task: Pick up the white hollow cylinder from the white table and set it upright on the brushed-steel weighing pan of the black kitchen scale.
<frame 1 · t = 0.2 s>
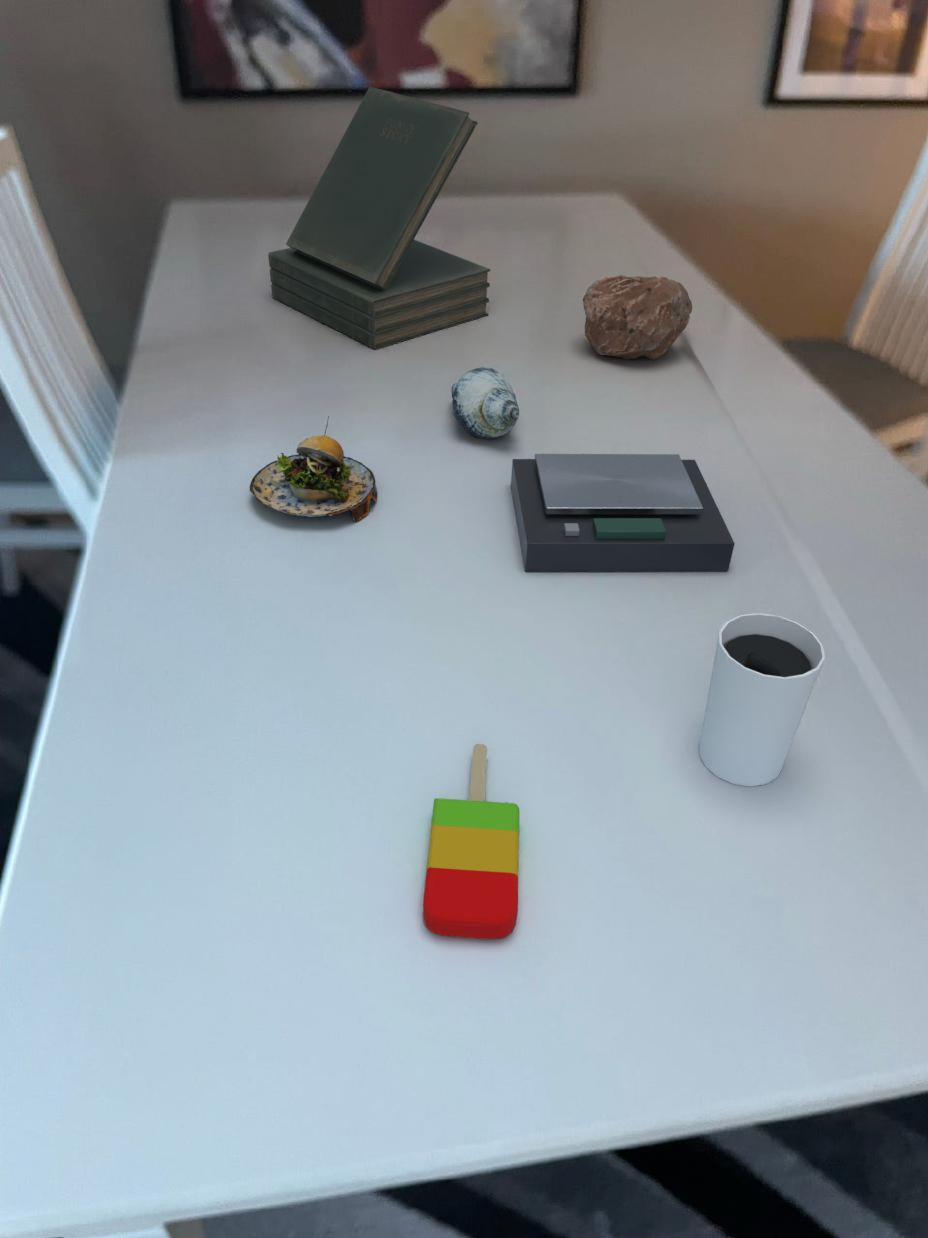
seashell: (482, 429, 109), on the table
white hollow cylinder: (739, 757, 70), on the table
scale pan: (615, 482, 92), point 4 cm above the table, slide at 0.0 cm
burger: (315, 499, 96), on the table
decorative rock: (630, 354, 126), on the table
popsicle: (474, 841, 63), on the table
stack of books: (379, 308, 136), on the table
scale: (613, 526, 93), on the table
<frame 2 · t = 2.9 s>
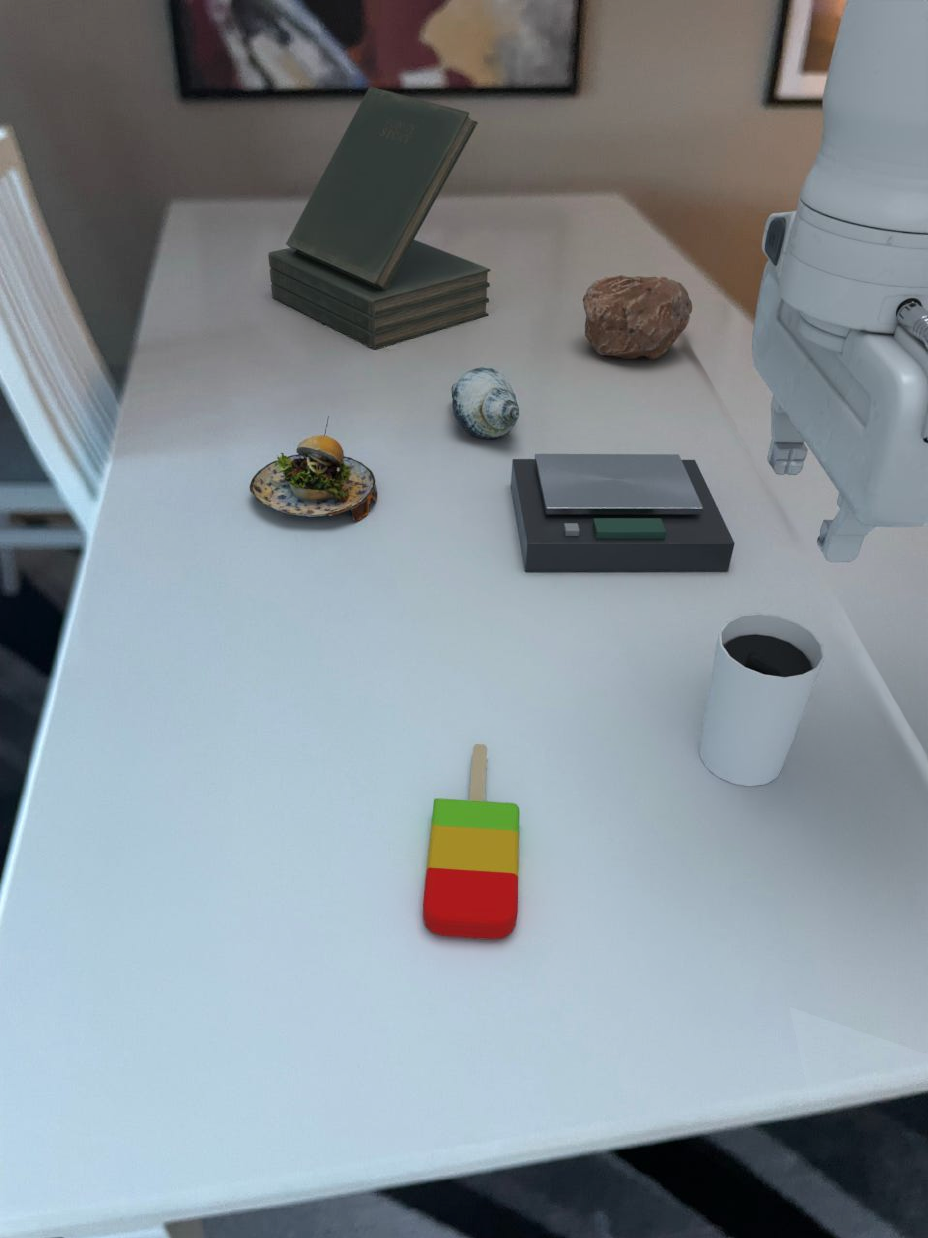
hand: (807, 509, 58), 20 cm above the table, tool pointing down, fingers open, 8 cm apart
nothing on the table moved.
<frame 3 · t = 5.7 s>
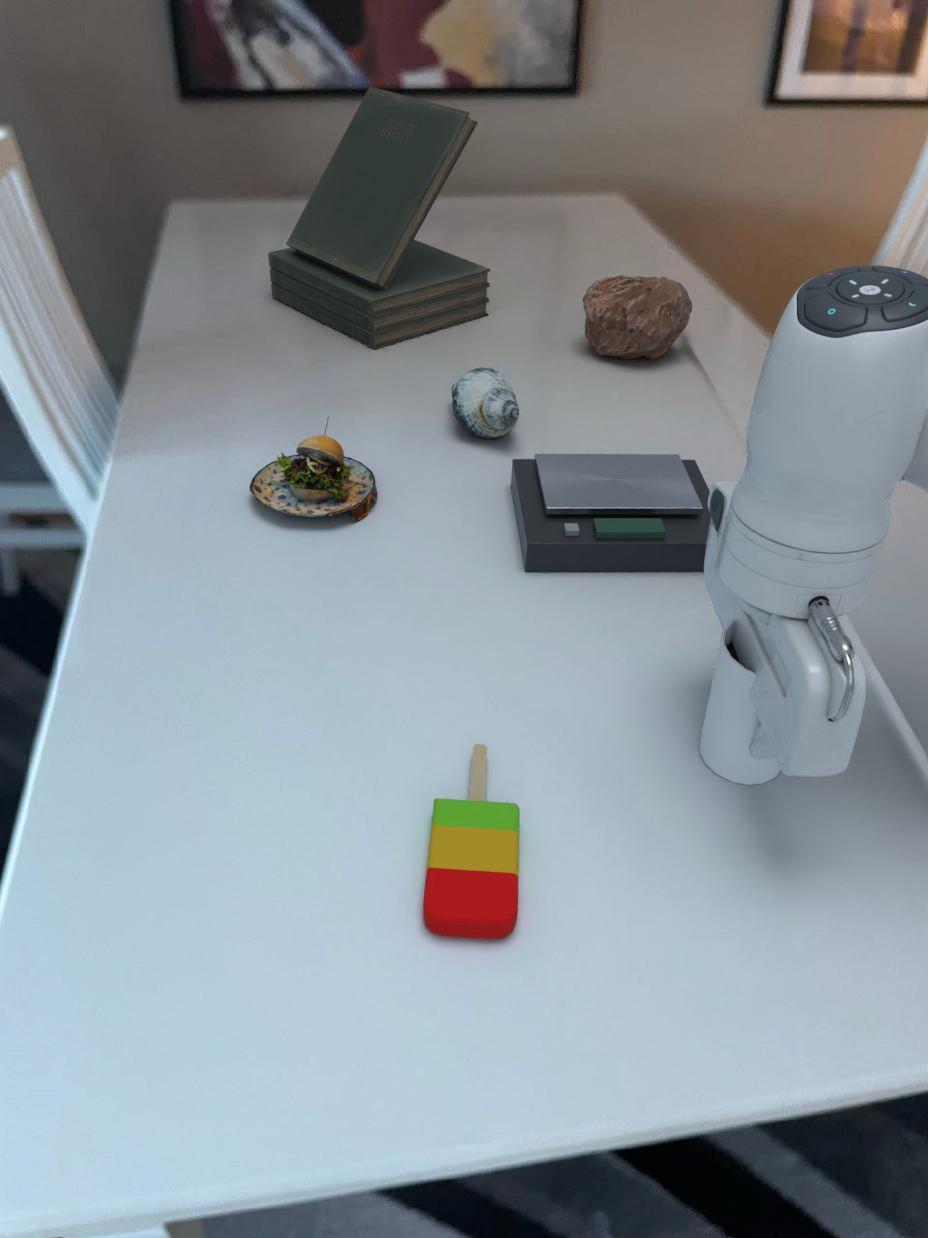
hand: (749, 723, 68), 3 cm above the table, tool pointing down, fingers closed on white hollow cylinder, 4 cm apart
white hollow cylinder: (740, 755, 70), on the table, touching gripper
everything else where it was.
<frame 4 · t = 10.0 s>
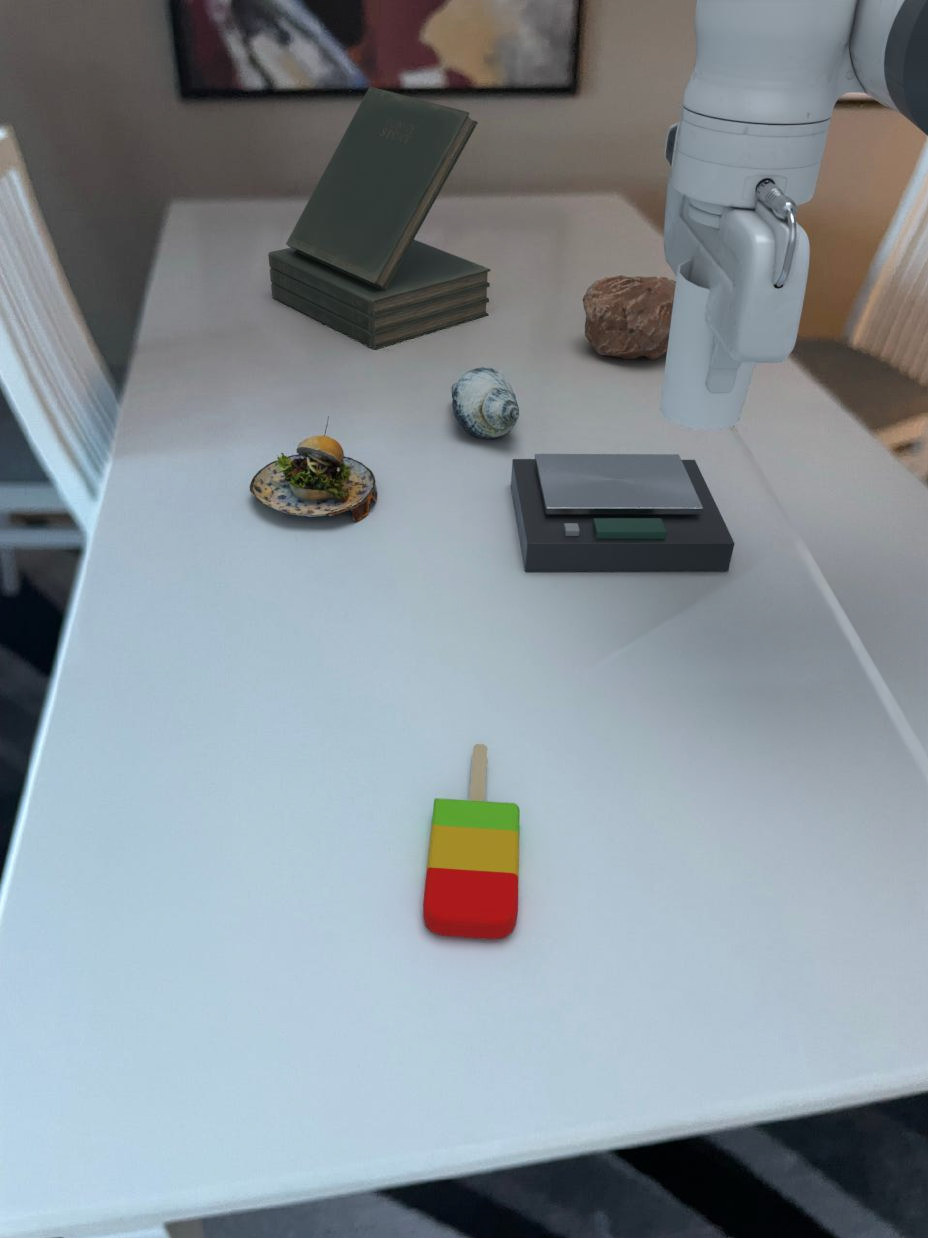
hand: (706, 372, 70), 21 cm above the table, tool pointing down, fingers closed on white hollow cylinder, 4 cm apart
white hollow cylinder: (699, 413, 72), point 18 cm above the table, touching gripper
everything else where it was.
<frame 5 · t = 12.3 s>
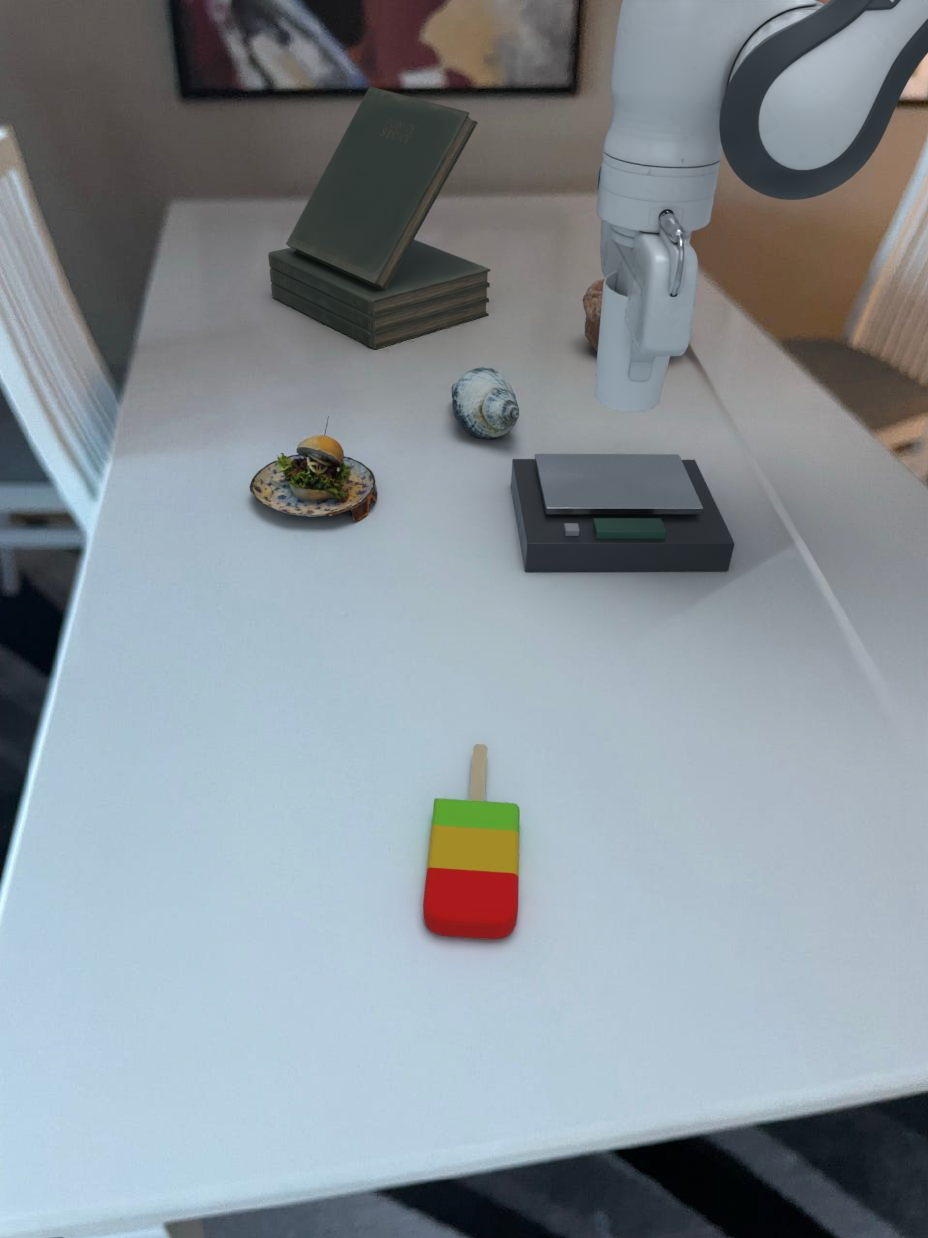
hand: (631, 364, 85), 15 cm above the table, tool pointing down, fingers closed on white hollow cylinder, 4 cm apart
white hollow cylinder: (626, 398, 87), point 12 cm above the table, touching gripper
everything else where it was.
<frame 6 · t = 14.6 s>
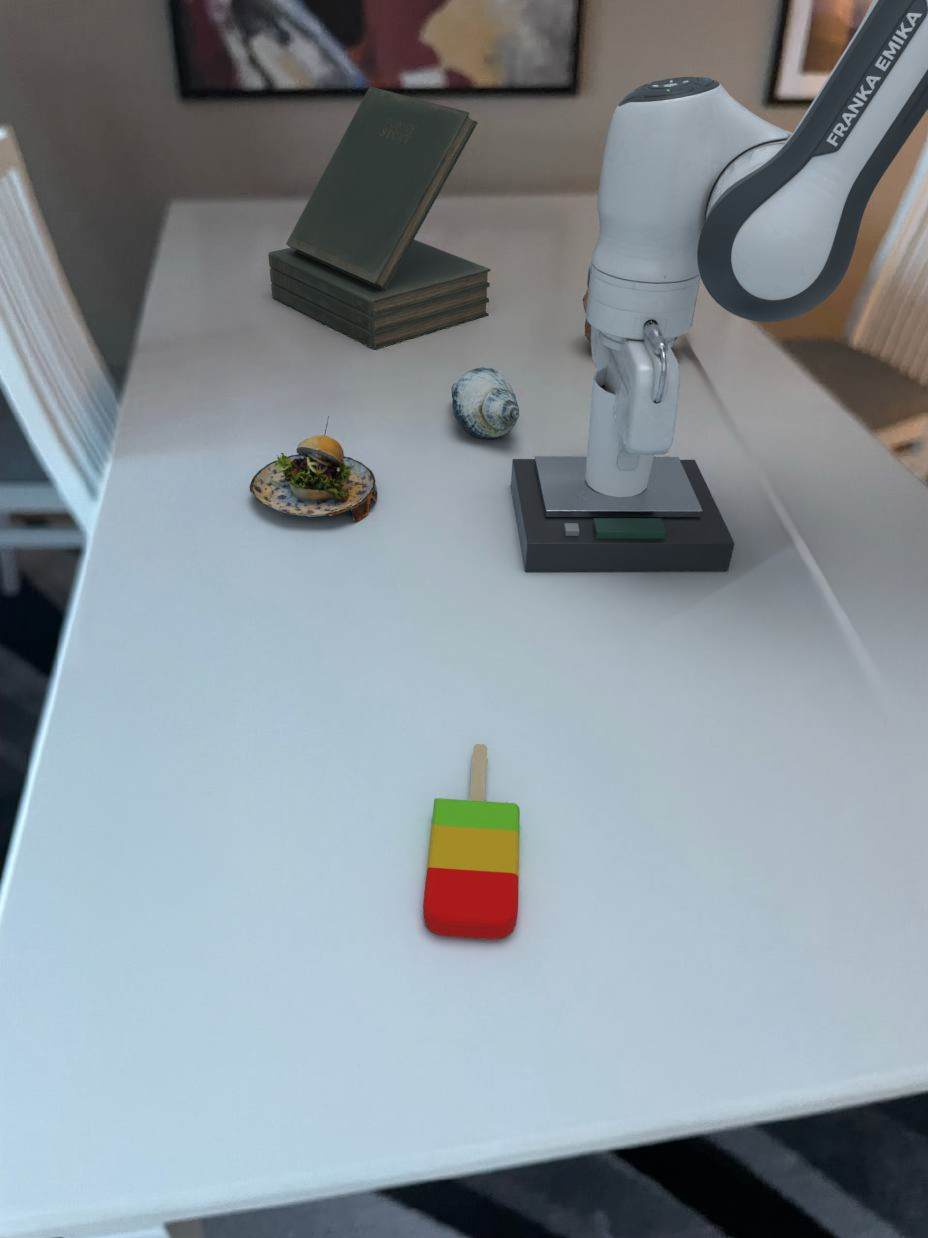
hand: (620, 451, 90), 7 cm above the table, tool pointing down, fingers closed on white hollow cylinder, 4 cm apart
white hollow cylinder: (616, 481, 92), point 4 cm above the table, touching gripper, scale pan
scale pan: (615, 485, 92), point 3 cm above the table, slide at -0.3 cm, touching white hollow cylinder
everything else where it was.
when the fingers open (7 cm above the table, at t = 14.7 s): white hollow cylinder stays where it is, resting on scale pan.
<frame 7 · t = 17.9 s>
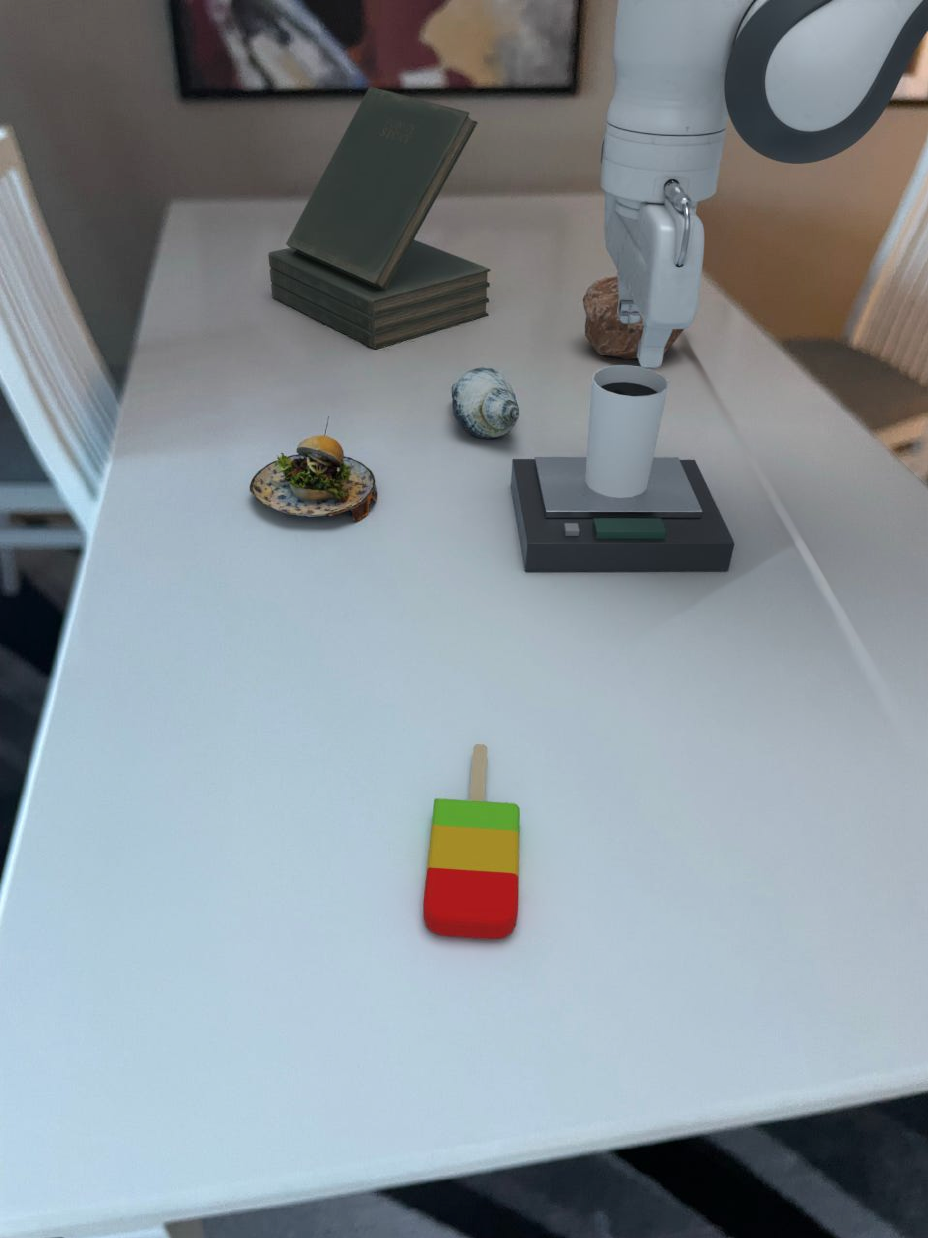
hand: (637, 341, 84), 17 cm above the table, tool pointing down, fingers open, 8 cm apart
white hollow cylinder: (616, 483, 92), point 4 cm above the table, touching scale pan
everything else where it was.
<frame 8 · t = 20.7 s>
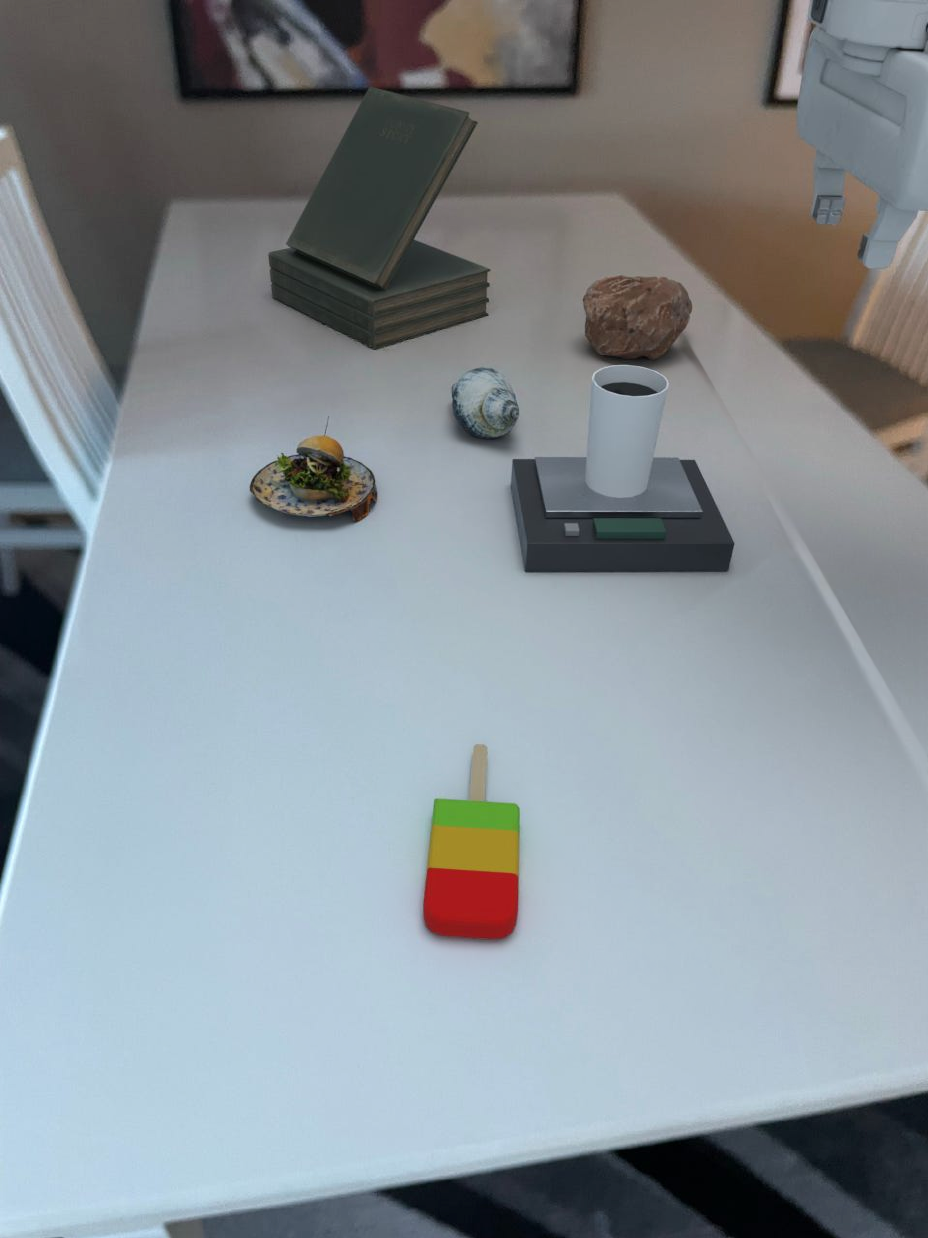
hand: (847, 242, 68), 29 cm above the table, tool pointing down, fingers open, 8 cm apart
nothing on the table moved.
at the end: white hollow cylinder inside the target area on the scale (0.2 cm from its centre), point 3.6 cm above the scale's base; white hollow cylinder tilted 0°; the gripper is holding nothing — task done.
